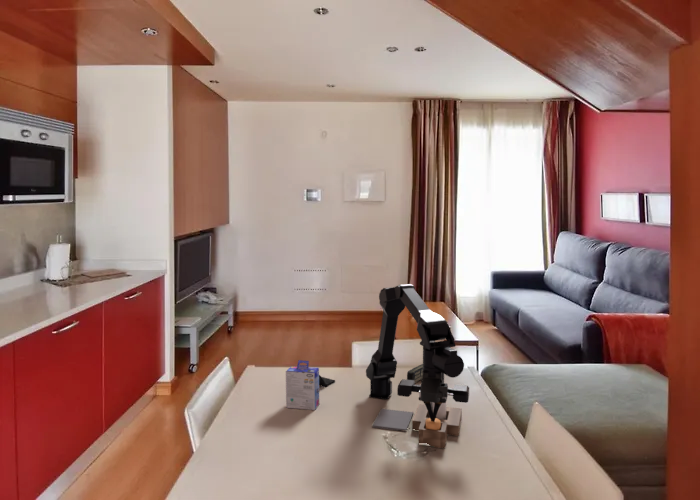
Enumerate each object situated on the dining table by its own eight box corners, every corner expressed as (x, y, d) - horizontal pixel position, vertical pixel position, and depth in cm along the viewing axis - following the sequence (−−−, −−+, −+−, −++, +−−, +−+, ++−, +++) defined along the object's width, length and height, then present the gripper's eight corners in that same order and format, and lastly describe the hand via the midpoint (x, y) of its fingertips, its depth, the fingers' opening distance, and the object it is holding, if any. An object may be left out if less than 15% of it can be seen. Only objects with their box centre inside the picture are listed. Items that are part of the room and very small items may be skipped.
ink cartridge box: (320, 403, 163) (319, 360, 162) (315, 410, 158) (315, 365, 156) (291, 401, 165) (290, 358, 164) (285, 408, 160) (284, 364, 158)
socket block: (407, 443, 136) (407, 427, 136) (418, 413, 155) (418, 399, 155) (456, 449, 132) (456, 433, 132) (461, 418, 151) (461, 403, 151)
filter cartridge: (427, 426, 146) (428, 393, 145) (430, 419, 151) (430, 387, 150) (445, 428, 144) (445, 395, 143) (446, 421, 149) (447, 389, 148)
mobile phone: (412, 373, 178) (433, 361, 189) (405, 371, 180) (426, 359, 191) (412, 386, 178) (433, 373, 190) (405, 384, 180) (426, 372, 192)
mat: (372, 427, 146) (372, 425, 146) (381, 410, 157) (381, 408, 157) (406, 431, 143) (406, 429, 143) (413, 414, 155) (413, 412, 154)
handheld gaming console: (337, 376, 184) (326, 359, 178) (332, 393, 179) (320, 377, 173) (310, 376, 189) (299, 360, 183) (304, 392, 184) (292, 377, 178)
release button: (424, 437, 136) (424, 423, 135) (426, 430, 139) (426, 417, 139) (439, 439, 134) (439, 425, 134) (441, 432, 138) (441, 418, 138)
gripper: (393, 372, 130) (393, 430, 131) (467, 378, 125) (466, 438, 126) (401, 358, 140) (401, 412, 142) (469, 364, 135) (468, 420, 137)
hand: (433, 420), depth 137 cm, fingers closed, pressing on release button
